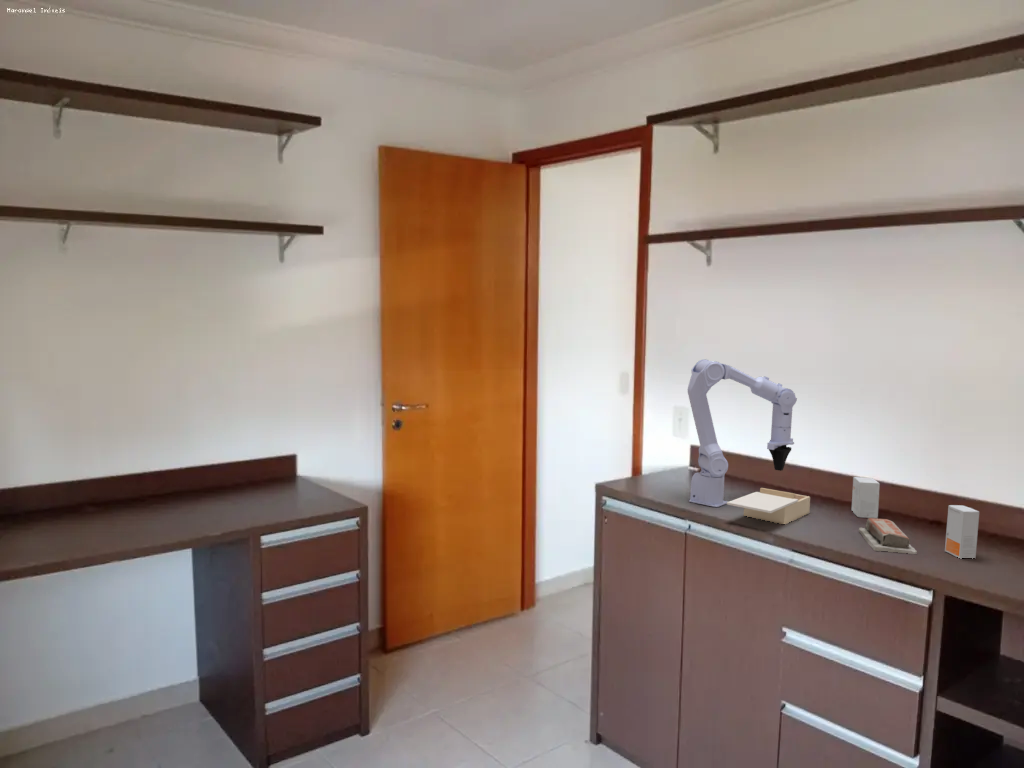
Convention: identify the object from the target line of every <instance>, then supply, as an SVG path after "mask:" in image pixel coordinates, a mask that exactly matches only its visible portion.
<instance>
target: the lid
mask: <svg viewBox="0 0 1024 768" xmlns="http://www.w3.org/2000/svg"><path fill="white" fill-rule="evenodd" d="M795 494H796V493H795V492H794V493H793V492H788V491H782V490H777V489H771V488H765V487H760V488H759V491H755V492H754V491H753V492H752V493H749V494H746V495H743V496H740V497H738V498H735V499H733V500H730V501H728V502H727V504H726V505H728V506H731V507H732V506H734V507H738V508H743V509H744V508H747V509H752V510H757V511H762V512H767V513H772V512H775V511H777V510H779V509H782V508H784V507H787V506H789V505H791V504H794V503H796V502H798V499H794V498H795Z"/></svg>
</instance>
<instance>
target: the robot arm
mask: <svg viewBox="0 0 1024 768" xmlns="http://www.w3.org/2000/svg"><path fill="white" fill-rule="evenodd" d="M729 379H730V380H732V381H733V382H734V381H735V382H737V383H740V384H741V385H743V386H747V387H749V389H750V392H751V393H752V394H753V395H755V396H758V397H760V398H762V399H763V400H764V399H765V400H766V401H768V402H771V404H772V413H771V414H772V415H771V429H770V430H771V431H770V432H771V433H770V439H769V442H767V443H766V444H767V446H766V447H767V448H766V449H767V450H768V451H769V453H770V456H771V458H772V462H773V463H772V464H773V466H774V470H775V471H779V472H780V471H783V470H784V468H785V466H786V465H785V464H786V462H787V458H788V456H789V455H790V453H791V451H792V447H791V446H792V445H794V444H795V441H794V438H793V437H791V434H792V423H793V421H792V420H793V419H792V418H793V408H794V406H795V405H796V403H797V399H798V398H797V397H796V393H795V392H794V391H793V389H790V388H786V387H783V384H781V383H776V382H774V381H772V380H770V377H768V376H758V377H753V376H752V375H749V374H747V373H745V372H744V371H741V370H739V369H738V368H736V367H733V366H731V365H730V364H729V365H728V364H726V363H721V362H719V361H716V360H715V361H713V360H709V359H707V358H706V359H700V360H698V361H697V362H696V363H695V365H694V366H693V367H692V368H691V376H690V380H689V382H688V386H687V395H688V400H689V404H690V407H691V412H692V415H693V416H692V417H693V420H694V424H695V429H696V434H697V437H698V441H699V447H698V458H697V461H698V463H697V464H698V466H699V467H700V469H701V470H700V472H695V473H694V474H693V475H692V477H691V482H690V499H689V500H688V503H694V504H699V505H704V506H708V507H709V506H710V507H713V508H719V507H722V506H725V505H727V502H729V501H728V500H724V494H725V493H724V492H725V491H724V490H725V477H726V476H725V474H726V473H727V472H728V469H729V462H728V460H727V459H726V458H725V456H724V454H723V450H722V449H721V447H720V445H719V443H718V440H717V439H718V438H717V435H716V431H715V426H714V422H713V418H712V413H711V409H710V404H709V399H708V395H707V394H708V393H709V391H710V390H711V388H712V387H713V386H715V385H716V384H718V383H719V382H720V381H721V380H729ZM789 445H791V446H789Z"/></svg>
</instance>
